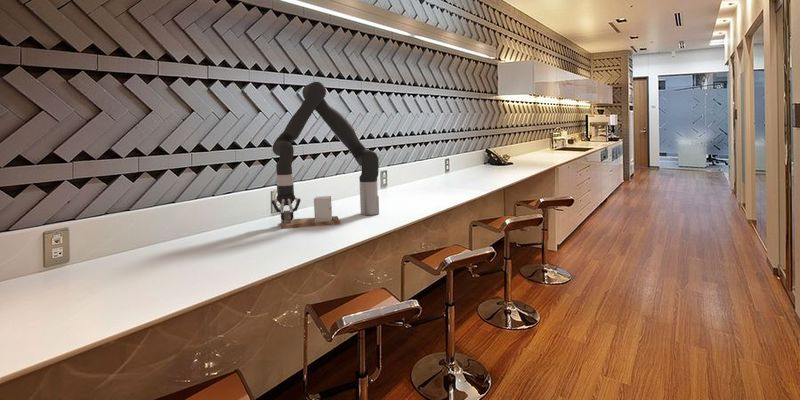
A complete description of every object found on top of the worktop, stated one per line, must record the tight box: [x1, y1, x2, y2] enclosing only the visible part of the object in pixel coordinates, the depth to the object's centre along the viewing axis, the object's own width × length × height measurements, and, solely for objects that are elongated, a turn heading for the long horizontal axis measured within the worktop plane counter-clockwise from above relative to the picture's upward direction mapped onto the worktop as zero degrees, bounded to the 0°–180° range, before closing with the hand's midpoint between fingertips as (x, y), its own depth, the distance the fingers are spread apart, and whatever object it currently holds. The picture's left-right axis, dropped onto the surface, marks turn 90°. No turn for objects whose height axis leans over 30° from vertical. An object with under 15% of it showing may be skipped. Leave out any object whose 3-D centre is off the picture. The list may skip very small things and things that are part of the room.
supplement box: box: [313, 195, 333, 222], centre depth 211 cm, size 7×7×13 cm
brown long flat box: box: [280, 209, 341, 229], centre depth 210 cm, size 27×12×6 cm, turn 104°
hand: (287, 220), depth 208 cm, fingers closed on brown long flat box, 3 cm apart
